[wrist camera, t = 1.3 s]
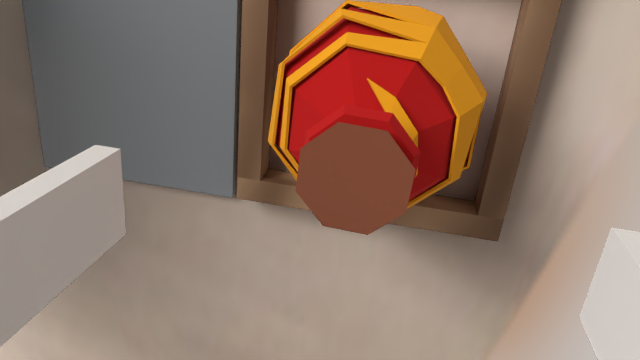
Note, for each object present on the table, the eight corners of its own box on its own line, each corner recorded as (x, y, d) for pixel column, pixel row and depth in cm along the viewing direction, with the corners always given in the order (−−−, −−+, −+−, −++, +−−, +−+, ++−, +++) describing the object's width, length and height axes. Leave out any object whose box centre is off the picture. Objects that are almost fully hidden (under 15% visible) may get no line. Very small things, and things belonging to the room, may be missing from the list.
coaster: (50, 163, 37) (44, 166, 37) (22, -47, 32) (15, -47, 31) (235, 194, 36) (232, 197, 35) (241, -23, 30) (238, -23, 29)
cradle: (246, 186, 35) (236, 198, 33) (256, -85, 29) (244, -88, 27) (493, 226, 33) (497, 241, 31) (566, -56, 26) (576, -57, 25)
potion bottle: (485, 147, 31) (535, 289, 18) (323, 176, 34) (257, 320, 20) (457, -34, 28) (490, -30, 14) (278, 15, 30) (162, 58, 17)
